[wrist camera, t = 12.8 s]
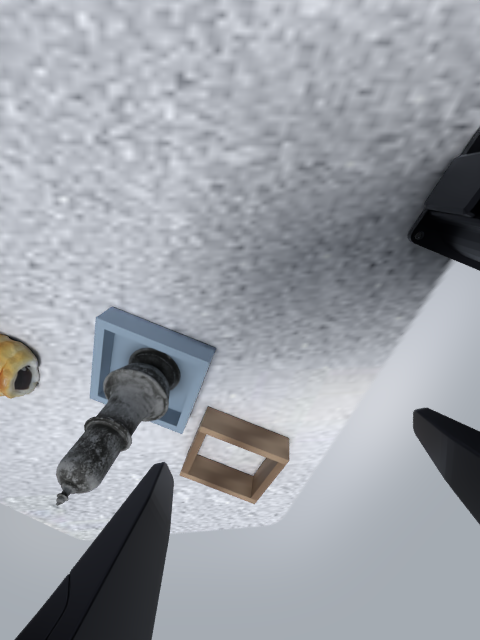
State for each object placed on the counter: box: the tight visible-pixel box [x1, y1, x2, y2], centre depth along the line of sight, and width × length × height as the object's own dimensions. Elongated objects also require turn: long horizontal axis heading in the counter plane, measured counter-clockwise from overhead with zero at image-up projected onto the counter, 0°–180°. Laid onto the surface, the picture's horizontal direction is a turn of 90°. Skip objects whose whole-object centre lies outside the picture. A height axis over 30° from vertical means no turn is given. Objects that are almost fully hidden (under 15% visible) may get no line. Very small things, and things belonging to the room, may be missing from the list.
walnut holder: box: [180, 407, 289, 504], centre depth 28 cm, size 9×9×2 cm
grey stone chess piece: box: [56, 348, 181, 506], centre depth 20 cm, size 6×6×12 cm
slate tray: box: [90, 307, 216, 434], centre depth 24 cm, size 10×10×2 cm
